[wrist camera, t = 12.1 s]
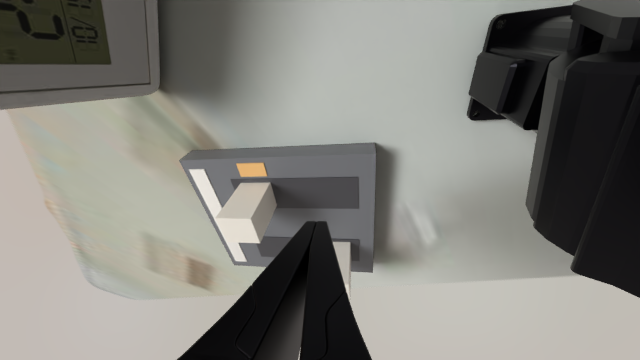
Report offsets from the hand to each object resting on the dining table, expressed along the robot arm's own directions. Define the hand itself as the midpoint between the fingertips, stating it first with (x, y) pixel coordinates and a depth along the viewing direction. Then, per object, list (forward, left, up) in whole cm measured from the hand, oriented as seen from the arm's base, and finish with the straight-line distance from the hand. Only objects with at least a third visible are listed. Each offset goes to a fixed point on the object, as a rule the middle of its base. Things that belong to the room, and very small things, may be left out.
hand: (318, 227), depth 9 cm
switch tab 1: (+8, +6, -10) cm, 14 cm away
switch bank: (+6, +10, -12) cm, 17 cm away
